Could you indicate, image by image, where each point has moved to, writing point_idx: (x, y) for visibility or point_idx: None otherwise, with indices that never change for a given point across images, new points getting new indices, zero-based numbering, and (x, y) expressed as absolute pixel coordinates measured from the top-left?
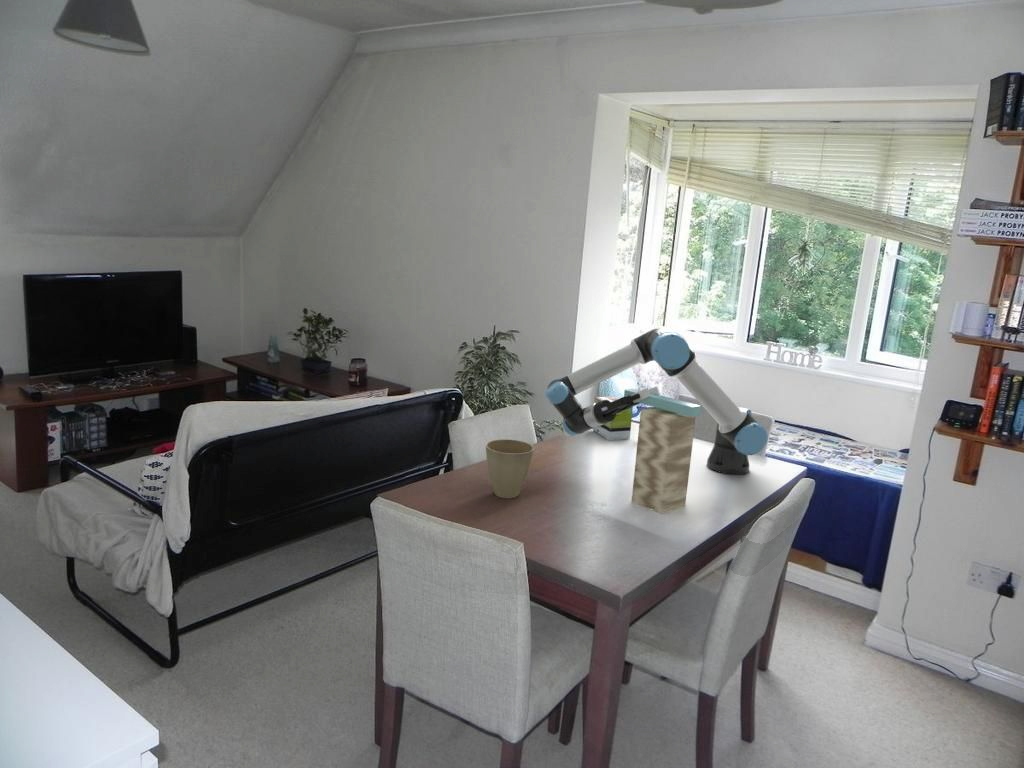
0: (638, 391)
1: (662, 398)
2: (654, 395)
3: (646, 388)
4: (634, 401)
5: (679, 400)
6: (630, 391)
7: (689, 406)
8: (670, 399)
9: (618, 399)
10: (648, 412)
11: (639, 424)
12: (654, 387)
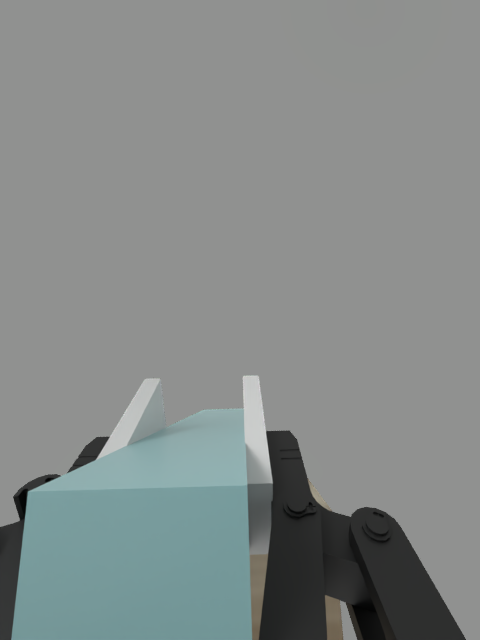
0: (173, 449)
1: (227, 419)
2: (198, 427)
3: (258, 376)
4: (270, 532)
5: (194, 415)
6: (245, 460)
7: (243, 409)
8: (211, 417)
9: (447, 615)
10: (317, 493)
11: (341, 628)
12: (157, 385)
